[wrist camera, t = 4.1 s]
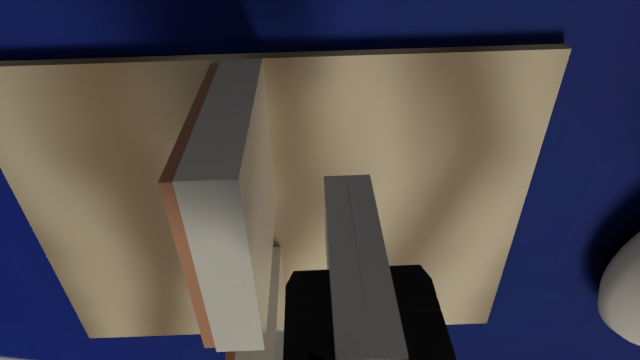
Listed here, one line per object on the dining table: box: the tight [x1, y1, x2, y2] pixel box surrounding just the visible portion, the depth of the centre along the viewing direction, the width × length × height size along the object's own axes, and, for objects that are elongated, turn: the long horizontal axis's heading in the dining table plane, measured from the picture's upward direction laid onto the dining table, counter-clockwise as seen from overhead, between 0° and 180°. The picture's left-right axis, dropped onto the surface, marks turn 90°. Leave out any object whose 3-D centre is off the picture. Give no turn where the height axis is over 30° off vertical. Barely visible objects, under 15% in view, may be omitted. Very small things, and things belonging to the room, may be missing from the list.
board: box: [0, 44, 571, 338], centre depth 23 cm, size 24×17×1 cm
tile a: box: [158, 58, 276, 352], centre depth 16 cm, size 2×7×8 cm, turn 1°
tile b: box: [225, 247, 285, 360], centre depth 22 cm, size 2×7×8 cm, turn 1°
